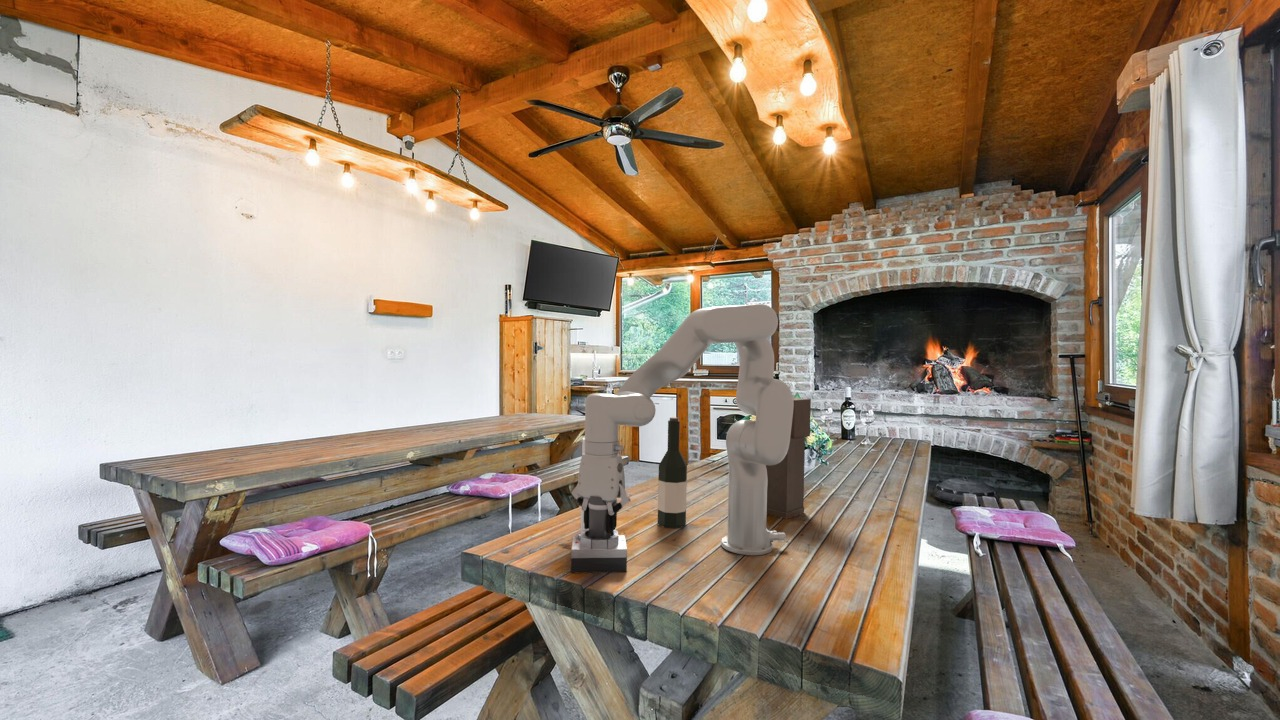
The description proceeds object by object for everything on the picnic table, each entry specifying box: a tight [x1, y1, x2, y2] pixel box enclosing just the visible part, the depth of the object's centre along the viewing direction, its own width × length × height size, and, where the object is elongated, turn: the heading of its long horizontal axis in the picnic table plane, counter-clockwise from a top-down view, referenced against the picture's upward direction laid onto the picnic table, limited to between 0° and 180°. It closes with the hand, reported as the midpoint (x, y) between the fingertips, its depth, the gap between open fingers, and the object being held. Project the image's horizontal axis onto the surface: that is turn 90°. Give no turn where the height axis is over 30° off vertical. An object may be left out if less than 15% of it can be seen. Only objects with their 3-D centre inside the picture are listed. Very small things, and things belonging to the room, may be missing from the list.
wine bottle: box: [657, 416, 688, 529], centre depth 150 cm, size 8×8×30 cm
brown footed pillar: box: [766, 397, 812, 520], centre depth 168 cm, size 19×14×35 cm
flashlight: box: [588, 496, 611, 538], centre depth 119 cm, size 5×5×10 cm
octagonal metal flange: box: [570, 528, 628, 573], centre depth 119 cm, size 12×9×7 cm
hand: (599, 528), depth 119 cm, fingers closed on flashlight, 4 cm apart
